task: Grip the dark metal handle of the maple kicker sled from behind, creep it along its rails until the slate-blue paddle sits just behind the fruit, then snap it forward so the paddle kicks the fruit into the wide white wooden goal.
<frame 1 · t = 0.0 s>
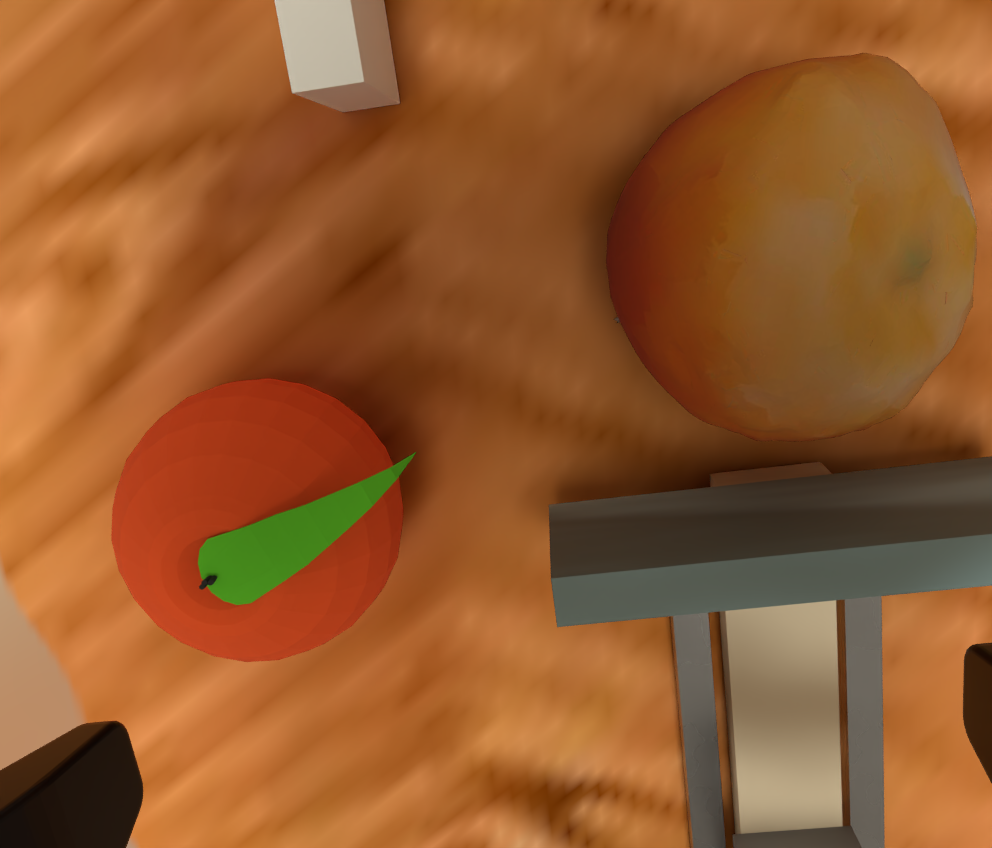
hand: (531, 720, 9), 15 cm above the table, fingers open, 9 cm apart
clementine: (319, 461, 24), on the table
fruit: (747, 246, 22), on the table
kicker: (807, 770, 22), point 3 cm above the table, slide at 0.0 cm
track: (773, 696, 25), on the table
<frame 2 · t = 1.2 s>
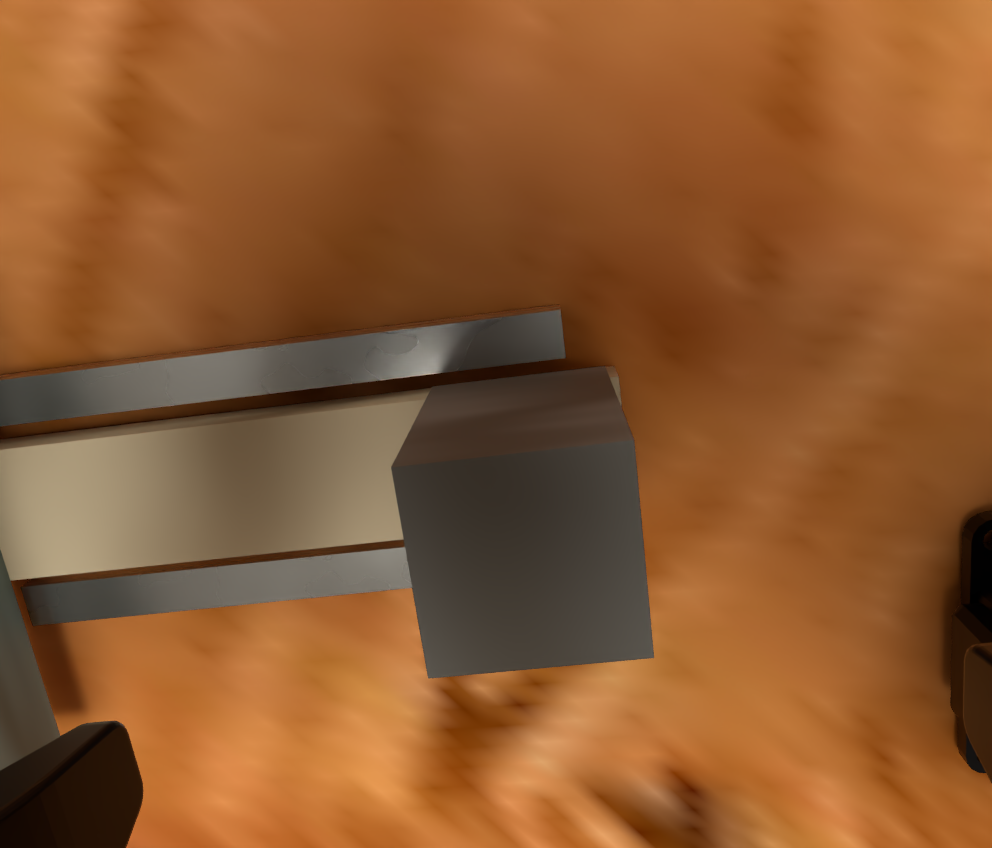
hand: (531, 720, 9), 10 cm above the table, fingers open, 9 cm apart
kicker: (238, 524, 16), point 3 cm above the table, slide at 0.0 cm
track: (288, 467, 19), on the table
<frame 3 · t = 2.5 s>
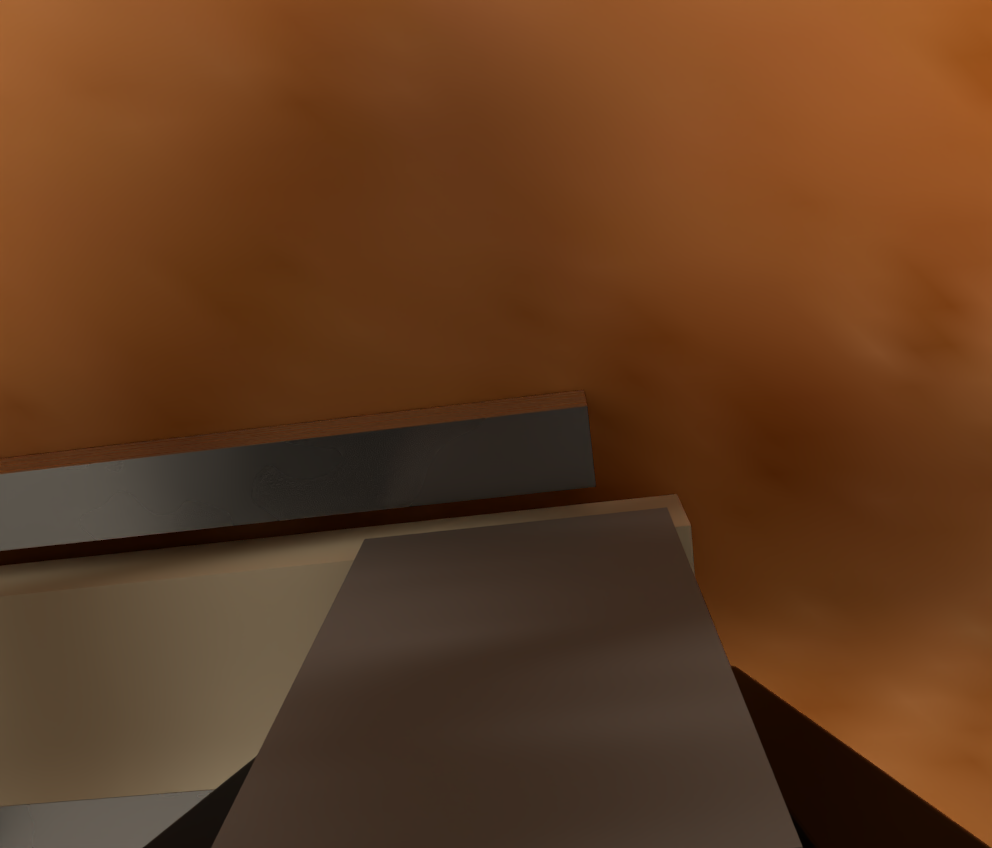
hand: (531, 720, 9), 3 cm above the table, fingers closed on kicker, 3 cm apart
track: (145, 642, 12), on the table
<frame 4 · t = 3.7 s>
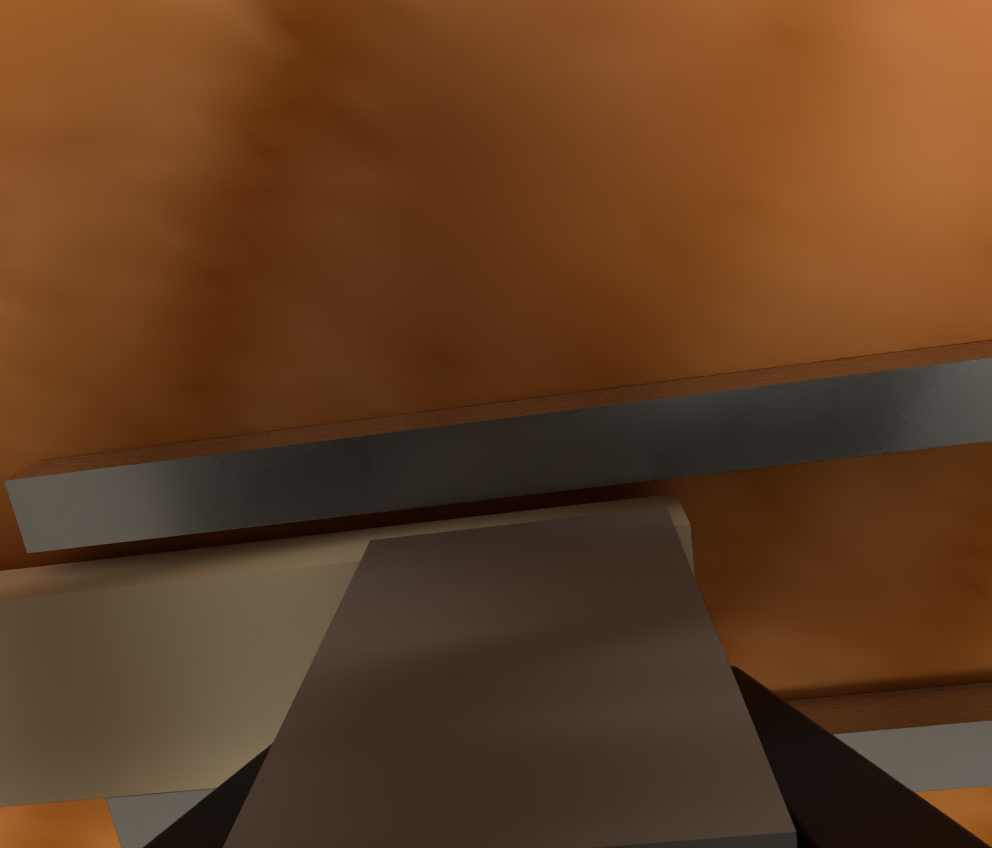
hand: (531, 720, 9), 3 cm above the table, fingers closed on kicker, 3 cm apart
kicker: (15, 809, 9), point 3 cm above the table, slide at 5.7 cm, touching gripper
track: (545, 602, 11), on the table
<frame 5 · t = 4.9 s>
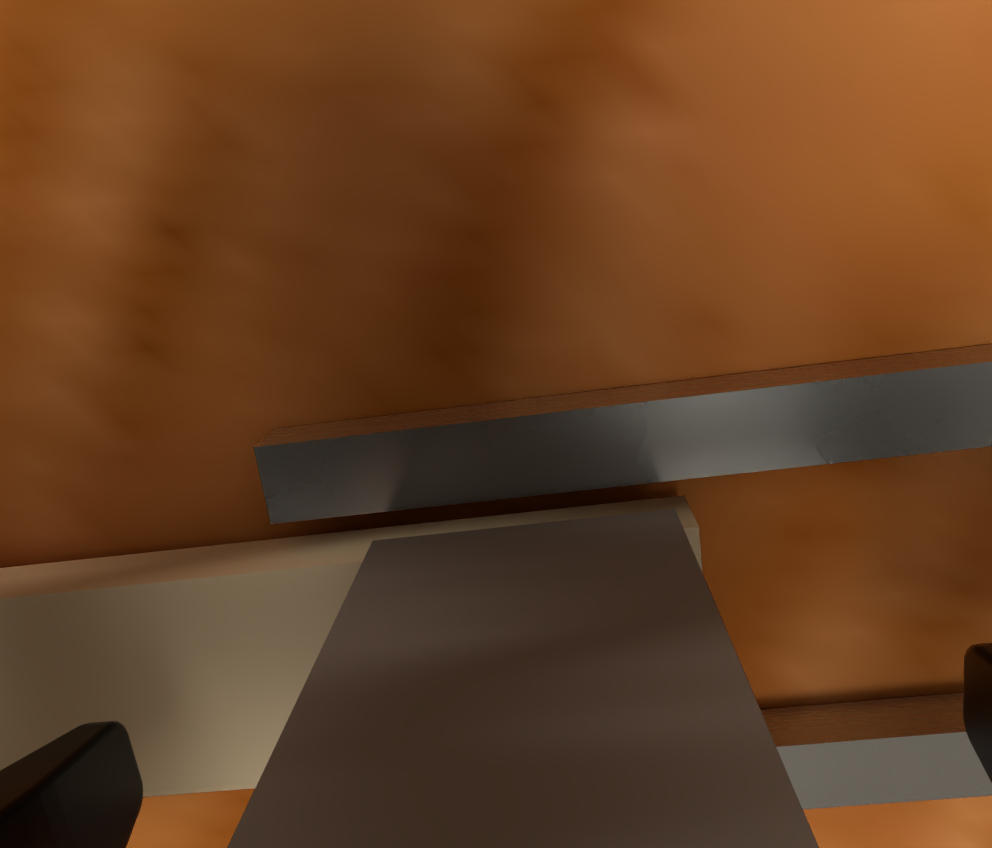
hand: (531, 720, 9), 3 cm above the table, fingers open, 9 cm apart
kicker: (7, 813, 8), point 3 cm above the table, slide at 8.9 cm
track: (794, 581, 11), on the table
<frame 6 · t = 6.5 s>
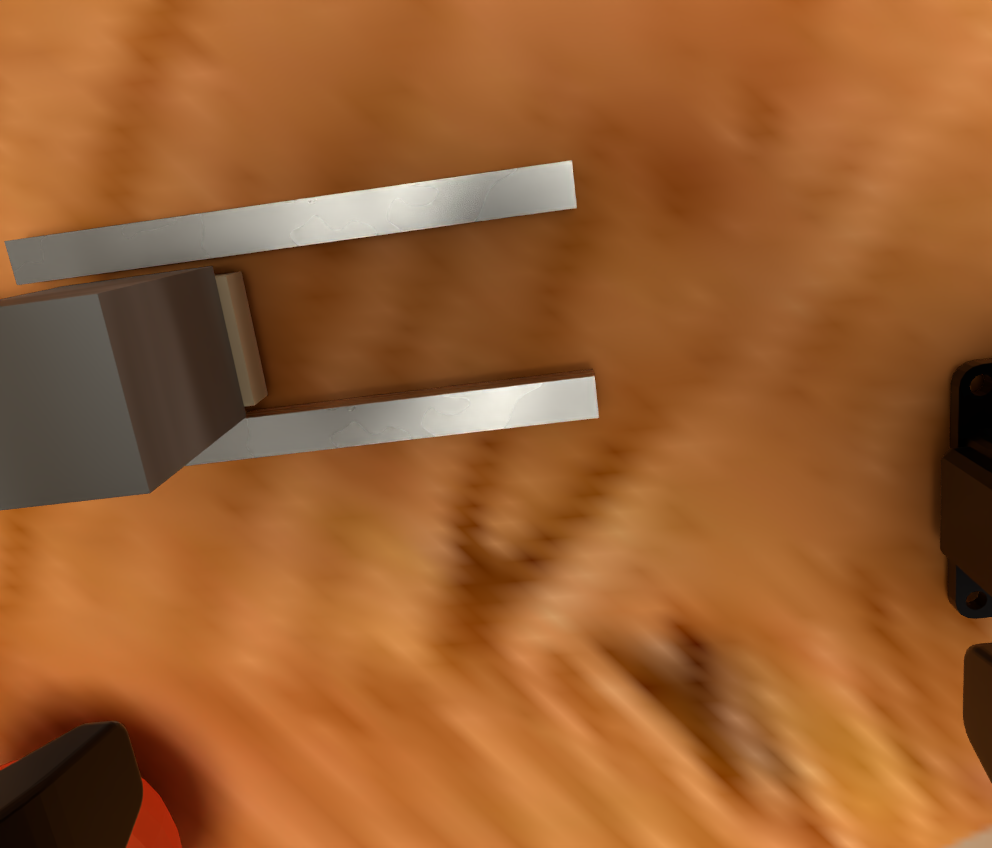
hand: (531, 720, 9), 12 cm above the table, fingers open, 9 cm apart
clementine: (99, 783, 24), on the table
track: (314, 325, 20), on the table
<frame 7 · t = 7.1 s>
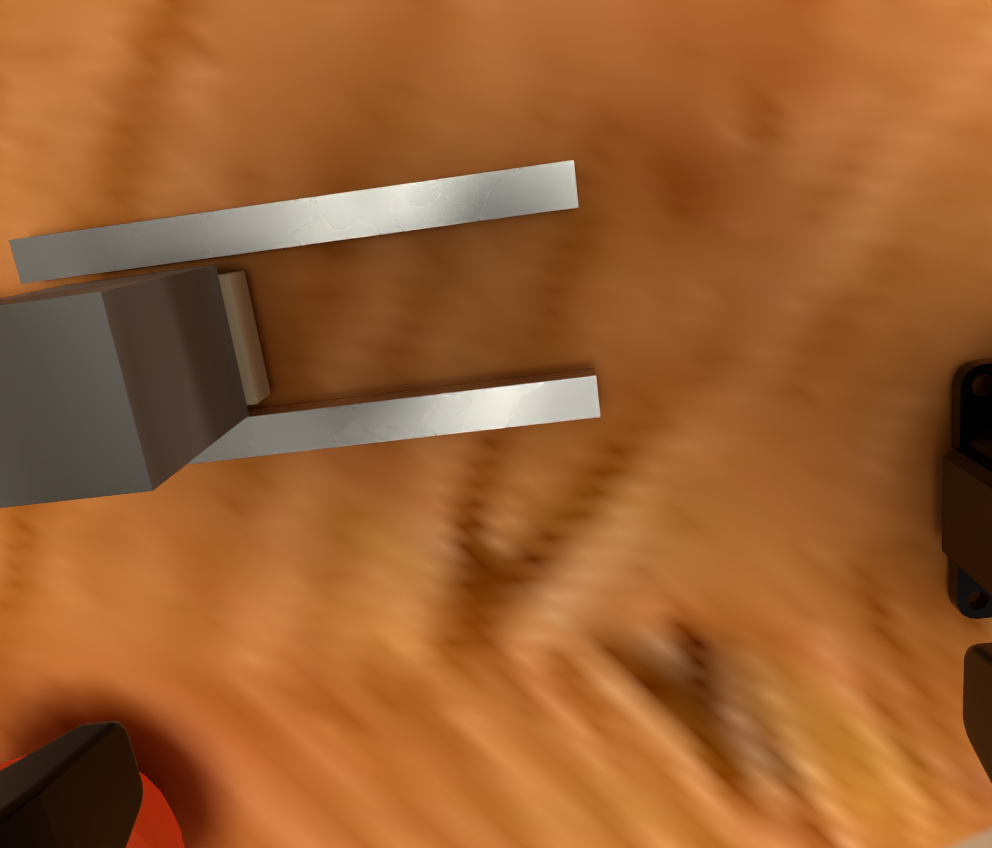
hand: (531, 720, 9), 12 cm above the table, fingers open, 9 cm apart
clementine: (102, 780, 24), on the table
track: (316, 324, 20), on the table
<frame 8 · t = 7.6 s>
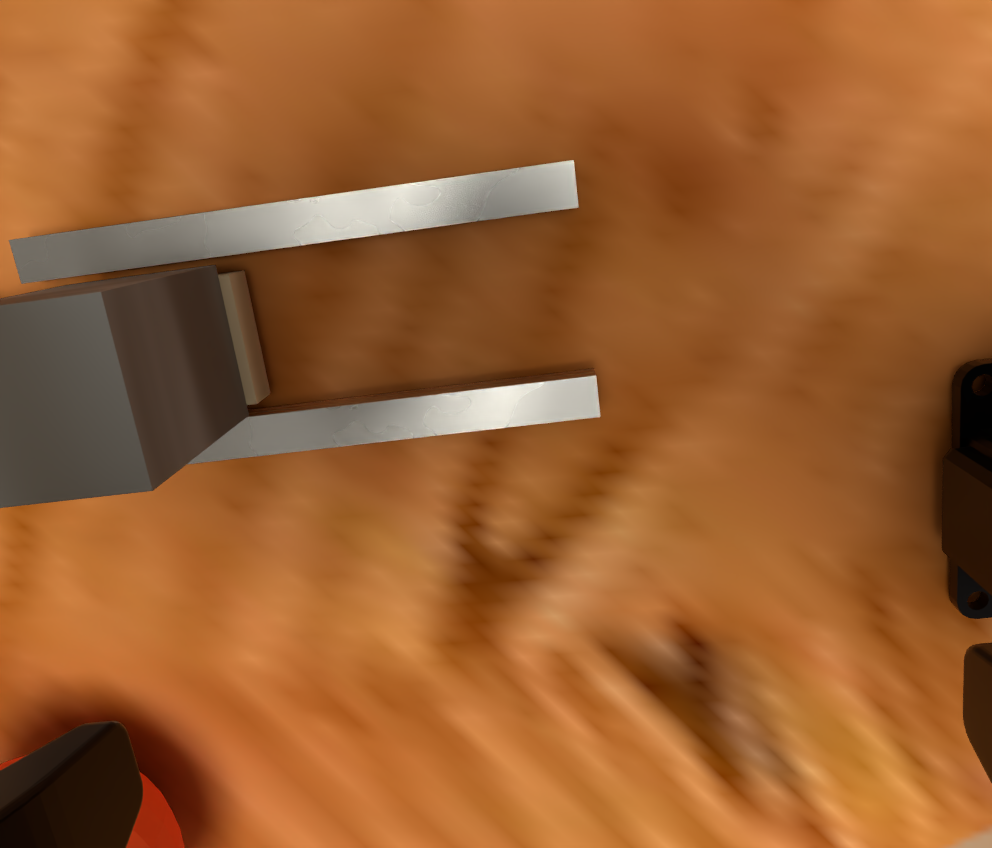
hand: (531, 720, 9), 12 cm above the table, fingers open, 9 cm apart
clementine: (102, 780, 24), on the table
track: (316, 324, 20), on the table
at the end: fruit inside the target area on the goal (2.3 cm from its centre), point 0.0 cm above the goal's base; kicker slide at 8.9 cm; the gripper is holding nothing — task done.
